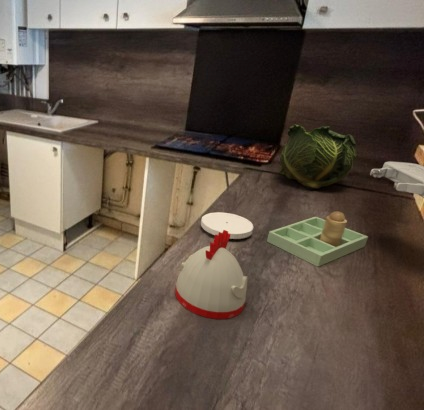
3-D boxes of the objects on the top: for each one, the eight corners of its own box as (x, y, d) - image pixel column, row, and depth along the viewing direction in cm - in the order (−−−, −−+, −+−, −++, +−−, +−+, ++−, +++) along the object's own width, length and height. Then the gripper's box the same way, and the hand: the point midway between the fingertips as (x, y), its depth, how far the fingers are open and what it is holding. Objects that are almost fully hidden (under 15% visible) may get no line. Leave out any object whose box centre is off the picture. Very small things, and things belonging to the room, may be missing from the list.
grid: (364, 246, 95) (368, 236, 94) (317, 266, 86) (321, 255, 85) (312, 225, 106) (315, 216, 105) (266, 241, 97) (269, 231, 96)
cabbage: (322, 194, 147) (348, 140, 142) (350, 203, 124) (382, 139, 118) (260, 174, 151) (283, 121, 146) (276, 179, 128) (305, 116, 123)
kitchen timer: (255, 297, 75) (270, 234, 69) (224, 329, 67) (238, 261, 61) (196, 270, 85) (205, 212, 79) (162, 295, 76) (169, 233, 70)
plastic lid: (223, 216, 112) (224, 208, 111) (262, 234, 101) (264, 226, 100) (190, 226, 106) (191, 218, 105) (228, 246, 95) (229, 238, 94)
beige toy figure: (341, 248, 92) (353, 213, 88) (331, 252, 91) (343, 216, 87) (324, 241, 96) (334, 207, 92) (314, 244, 94) (324, 210, 90)
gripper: (424, 156, 90) (363, 154, 92) (494, 184, 72) (417, 180, 74) (415, 180, 93) (356, 177, 95) (480, 212, 74) (406, 208, 76)
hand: (383, 179), depth 84 cm, fingers open, 8 cm apart
